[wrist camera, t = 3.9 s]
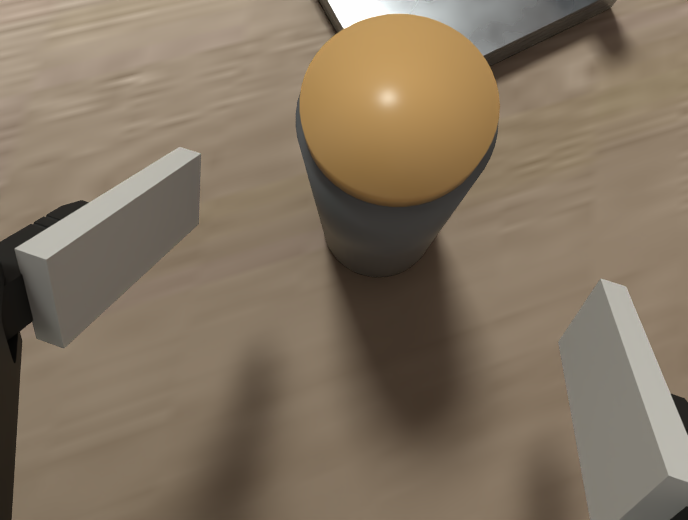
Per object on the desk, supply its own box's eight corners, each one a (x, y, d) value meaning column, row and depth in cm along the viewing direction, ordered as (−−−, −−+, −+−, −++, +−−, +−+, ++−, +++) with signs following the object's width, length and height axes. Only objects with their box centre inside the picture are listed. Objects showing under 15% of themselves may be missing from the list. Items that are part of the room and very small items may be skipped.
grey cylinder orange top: (304, 200, 24) (256, 61, 13) (400, 153, 25) (440, -25, 13) (354, 296, 23) (352, 243, 12) (453, 246, 24) (548, 144, 12)
